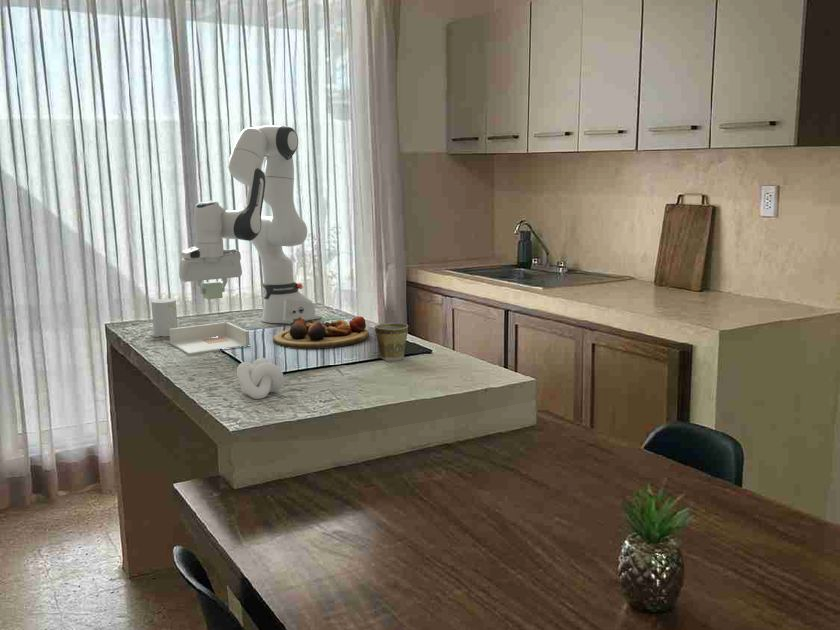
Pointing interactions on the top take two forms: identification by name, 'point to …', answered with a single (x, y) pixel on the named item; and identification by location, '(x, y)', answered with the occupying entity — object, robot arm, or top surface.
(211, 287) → the cube
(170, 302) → the cup
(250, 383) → the white knot sculpture
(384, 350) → the ceramic cup
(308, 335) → the wooden plate with food
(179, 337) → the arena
